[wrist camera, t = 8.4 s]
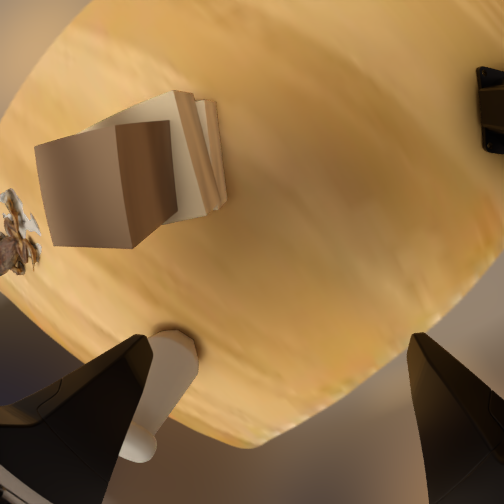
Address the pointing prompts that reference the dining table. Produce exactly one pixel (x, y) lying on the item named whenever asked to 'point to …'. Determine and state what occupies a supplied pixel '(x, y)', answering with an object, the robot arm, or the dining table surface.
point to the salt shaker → (160, 391)
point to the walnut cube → (108, 185)
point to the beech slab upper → (178, 150)
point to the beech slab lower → (213, 144)
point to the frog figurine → (17, 236)
